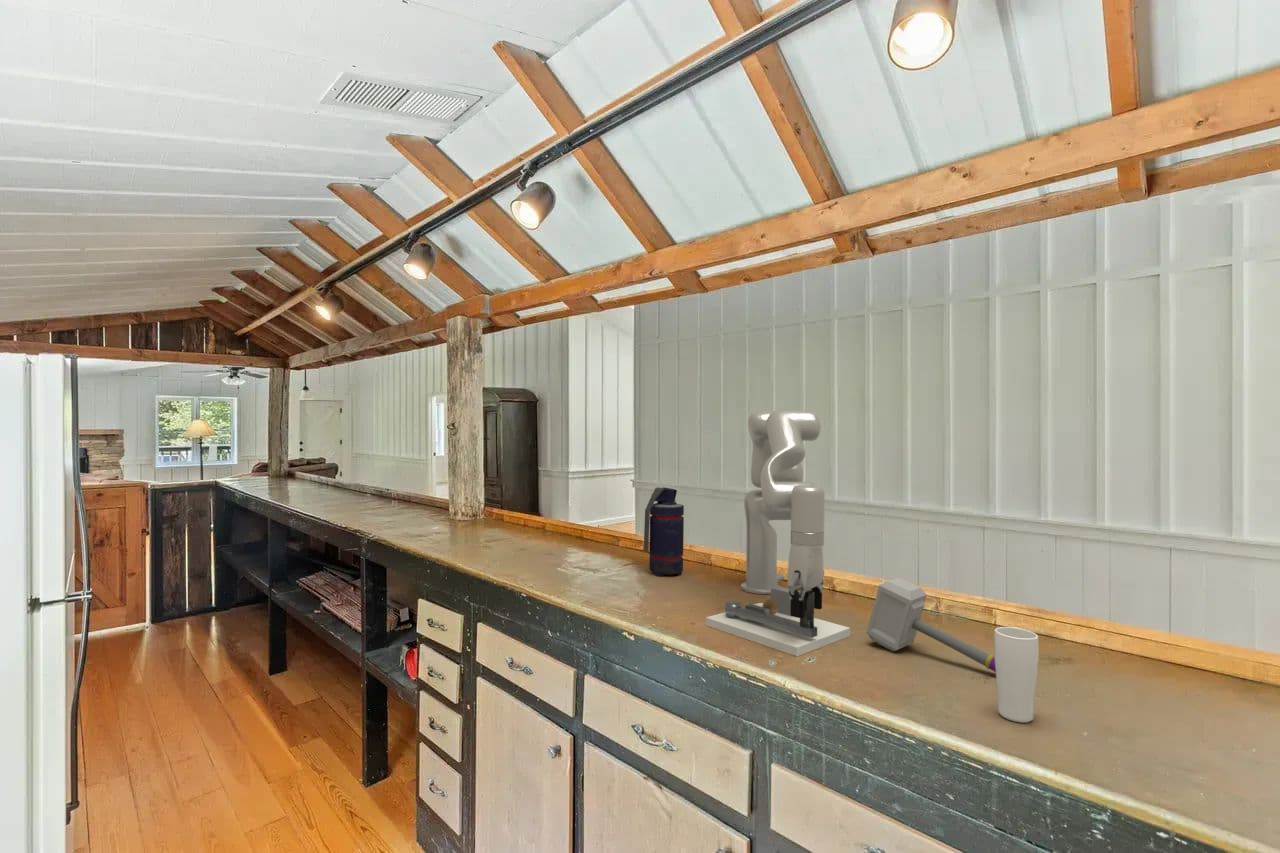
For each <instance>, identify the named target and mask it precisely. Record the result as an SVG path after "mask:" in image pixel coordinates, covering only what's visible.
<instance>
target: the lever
mask: <svg viewBox="0 0 1280 853" xmlns="http://www.w3.org/2000/svg"><path fill="white" fill-rule="evenodd" d="M800 592H801V591H799V593H800ZM803 600H804V601H805V617H804V618H803V619H801V618H800V622H797V621H794V620H790V619H787V618H783V617H779V616H776V615H772V614H769V609H768V608H764V607H761V606H757V605H754V604H752V603H748V604H745V606H743V605H742V603H741V602H739V601H735V600H730V601H729V600H728V601H726V602H725V615H726V616H729V617H742V618H746V619H749V620H753V621H756V622H759V623H763V624H766V625H769V626H773V627H776V628H780V629H783V630H786V631H790V632H793V633H796V634H800V635H803V636H806V637H810V638H813V637H815V636H817V627H815V626H814V618H815V608H814V591H812V590H810V589H809V590H807V591H805V595H804V598H803Z"/></svg>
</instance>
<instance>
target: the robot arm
mask: <svg viewBox="0 0 1280 853" xmlns="http://www.w3.org/2000/svg"><path fill="white" fill-rule="evenodd" d="M821 425H822V424H821V420H820V419H819V417H818V415H817V413H816V412H814V411H813V410H806V409H805V410H804V409H802V410H799V409H798V410H797V409H794V410H793V409H781V410H759V411H757V410H756V411H754V412H752V413H750V415H749V416H748V419H747V429H748V432H749V436H750V439H751V442H752V454H751V464H750V465H751V466H750V480H751V483H752V484H753V486H754V487H755V488H760V489H755V490H754V489H753V490H750V491H748V492H747V493H746V494H745V495H744V499H743V507H744V515H745V523H746V524H745V525H746V526H745V529H746V545H745V546H746V549H745V550H746V552H745V556H746V557H745V559H746V561H745V562H746V564H745V566H746V567H745V568H746V569H745V582H742V583H740V588H741V590H742V591H744V592H748V593H751V594H757V595H771V588H774V587H782V586H781V585H780V584H779V582H780V581H783V580H785V579H786V578H785V575H784V574H783V573H780V574H779V573H777V567H778V566H777V565H778V564H777V563H778V562H777V561H778V555H777V553H778V535H777V532H776V530H775V528H774V526H772V525H771V524H770V521H790V549H789V550H790V551H789V555H788V562H787V563H788V565H787V566H788V567H787V581H786V582H787V587H788V588H787V589H789V594H790V599H791V616H792V617H797V618H801V619H803V618H804V617H805V601H804V600H803V598H804V595H805V591H807V590H811V591H814V610H822V609H823V590H824V588H823V584H824V577H825V571H824V554H823V553H824V552H823V547H825V490H824V489H823V487H821V486H820V485H818V484H817V483H815V482H811V481H804V469H803V466H802V464H801V463H802V462H803V461H804V460H805V457H806V450H805V446H804V442H803V441H806V442H807V441H808V442H815V441H817V439H818V438H819V437H820V434H821V430H822V429H821V427H822V426H821ZM800 591H801V592H800Z"/></svg>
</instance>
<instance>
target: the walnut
mask: <svg viewBox="0 0 1280 853" xmlns="http://www.w3.org/2000/svg"><path fill="white" fill-rule="evenodd" d="M762 603H763V607H764V608H768V609H769V614H772V615H774V614H776V613H777V611H778V604H777V603H776V601H774V600H772V599H771V598H770V599H766V600H764V602H762Z"/></svg>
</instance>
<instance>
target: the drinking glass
mask: <svg viewBox="0 0 1280 853" xmlns="http://www.w3.org/2000/svg"><path fill="white" fill-rule="evenodd" d="M993 638H994V639H993V640H994V641H993V643H994V644H993V653H994V654H993V655H994V656H995V668H996V672H995V678H996V690H997V709H998V714H1000V716H1001V717H1003V718H1004V719H1006V720H1009V721H1011V722H1015V723H1030V722H1031V721H1032V720H1033V719H1034V705H1035V696H1036V694H1035V693H1036V686H1037V677H1038V669H1039V652H1040V651H1039V650H1040V649H1039V648H1040V647H1039V646H1040V645H1039V644H1040V643H1039V636H1038V634H1037V633H1035V632H1033V631H1030V630H1028V629H1024V628H1020V627H1013V626H1000V627H999V626H998V627H996V628H995V629H994V637H993Z"/></svg>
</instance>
